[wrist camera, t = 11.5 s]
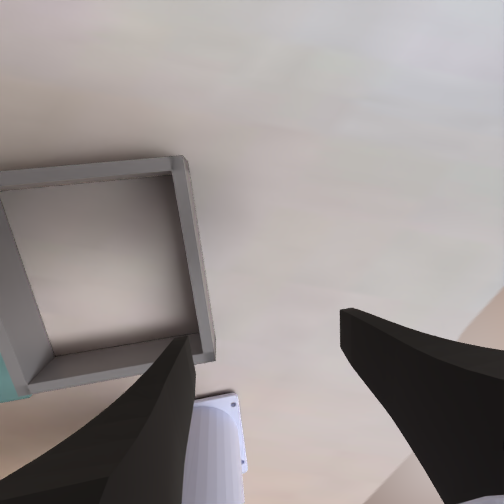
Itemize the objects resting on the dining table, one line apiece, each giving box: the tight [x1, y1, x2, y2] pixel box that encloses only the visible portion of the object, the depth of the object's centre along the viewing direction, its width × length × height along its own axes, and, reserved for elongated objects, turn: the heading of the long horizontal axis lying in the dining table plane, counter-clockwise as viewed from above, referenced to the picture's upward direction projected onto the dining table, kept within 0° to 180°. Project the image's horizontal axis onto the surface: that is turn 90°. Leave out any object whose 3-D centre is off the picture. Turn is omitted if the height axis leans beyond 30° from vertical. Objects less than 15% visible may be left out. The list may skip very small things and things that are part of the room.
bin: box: [0, 155, 216, 397], centre depth 17 cm, size 15×14×3 cm
